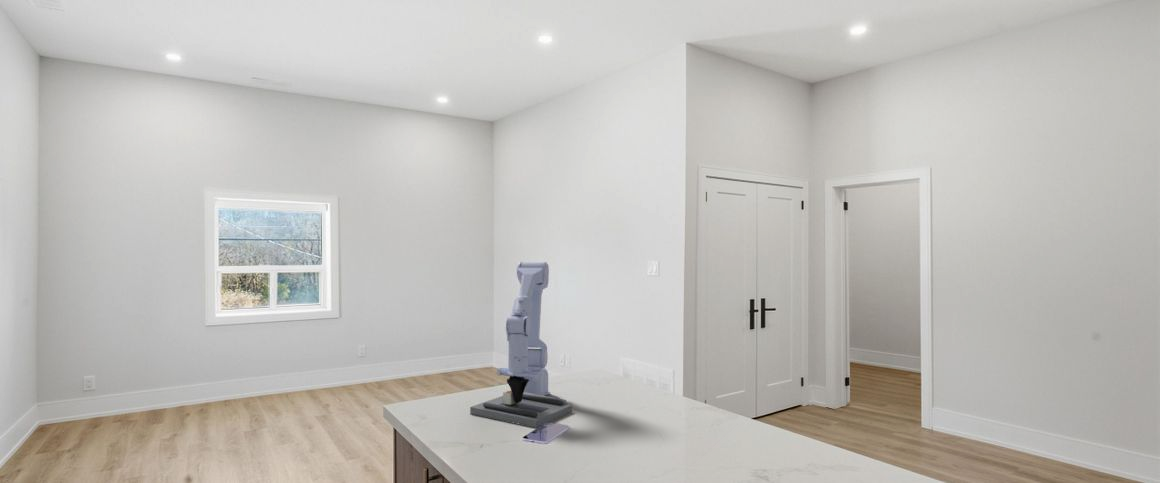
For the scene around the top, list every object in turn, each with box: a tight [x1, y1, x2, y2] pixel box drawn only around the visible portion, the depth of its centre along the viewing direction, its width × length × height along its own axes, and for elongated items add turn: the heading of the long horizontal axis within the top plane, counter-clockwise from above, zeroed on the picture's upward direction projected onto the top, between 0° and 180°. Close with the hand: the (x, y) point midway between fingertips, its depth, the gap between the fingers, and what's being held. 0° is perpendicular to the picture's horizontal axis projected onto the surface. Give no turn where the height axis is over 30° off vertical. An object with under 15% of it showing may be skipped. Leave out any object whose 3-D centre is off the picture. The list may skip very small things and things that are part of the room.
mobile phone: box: [521, 422, 570, 445], centre depth 154 cm, size 8×1×15 cm
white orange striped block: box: [502, 389, 515, 405], centre depth 174 cm, size 4×3×4 cm
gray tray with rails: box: [483, 392, 567, 417], centre depth 173 cm, size 17×20×1 cm
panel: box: [469, 395, 573, 429], centre depth 172 cm, size 18×24×2 cm
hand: (517, 402), depth 173 cm, fingers closed
